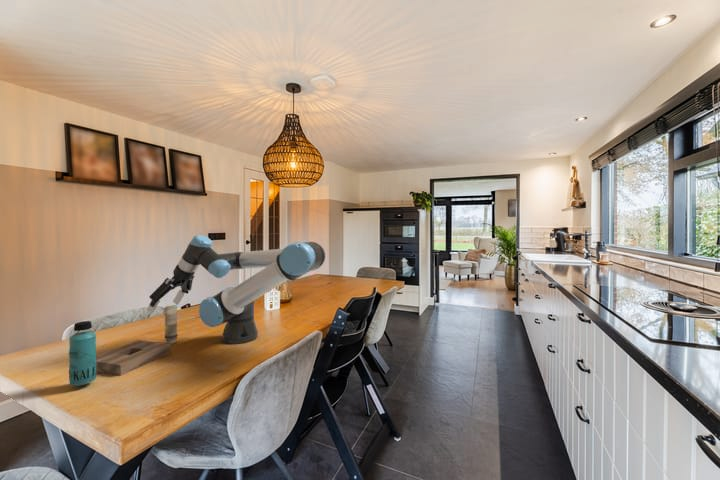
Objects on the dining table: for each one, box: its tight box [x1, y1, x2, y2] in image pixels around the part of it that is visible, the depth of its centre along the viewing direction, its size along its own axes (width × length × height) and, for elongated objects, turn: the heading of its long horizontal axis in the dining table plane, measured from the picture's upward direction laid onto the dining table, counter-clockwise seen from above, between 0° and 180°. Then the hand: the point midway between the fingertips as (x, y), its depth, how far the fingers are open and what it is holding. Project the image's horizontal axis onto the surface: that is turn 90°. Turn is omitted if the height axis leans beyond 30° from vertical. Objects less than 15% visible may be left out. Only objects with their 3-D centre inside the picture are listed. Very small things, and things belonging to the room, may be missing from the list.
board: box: [96, 340, 172, 376], centre depth 114 cm, size 16×20×4 cm
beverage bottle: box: [68, 320, 98, 387], centre depth 95 cm, size 6×7×20 cm
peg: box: [164, 304, 178, 346], centre depth 131 cm, size 5×5×16 cm
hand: (163, 307), depth 133 cm, fingers open, 13 cm apart
